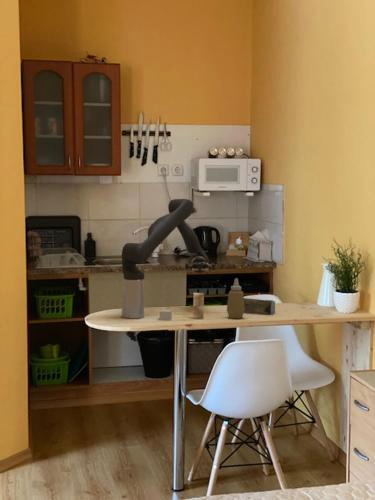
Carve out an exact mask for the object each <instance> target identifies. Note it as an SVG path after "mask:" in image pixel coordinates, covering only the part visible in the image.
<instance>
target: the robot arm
mask: <svg viewBox="0 0 375 500" xmlns="http://www.w3.org/2000/svg"><path fill="white" fill-rule="evenodd" d="M167 208H168V213H167V214H165V215H162V216H160V217H159V218H157V219H156V220H155V221H154V222H153V223H152V224H151V225H150V226H149V227H148V229H147V238H146V239H145V240H144V241H143V242H140V243H138V242H137V243H136V242H127V243H125V244H124V245H123V246H122V250H121V271H122V275H123V295H122V296H121V318H124V319H142V318H144V317H145V315H144V314H145V273H144V271H142V270H140V269H139V268H138V267H137V265H143V264H145V263H146V262H147V261H148V260H149V258H150V257H151V256H152V254H154V252H155V251H156V249H157V248H158V247H159V245H161V244H162V242H164V240H166V239H167V238H168V237H169V235H170V234H171V233H172V232H173V231H174V230H175V229H176V228H177V230H178V232H179V234H180V236H181V238H182V240H183V242H184V246H185V248H186V251H187V253H189V254H193V255H191V256H189V257H188V259H187V262H186V263H184V270H186V271H187V270H189V271H194V272H195V273H198V274H202V273H205V271H212V270H213V271H215V270H216V264H215V262H212V263H210V264H209V262H210V260H209V256H208V255H207V253H205V251H204V250H203V248H202V247H201V243H200V241H199V238H198V236H197V234H196V232H195V231H194V230H193V229H192V228H191V227H190V226H189V225H188V224H187V223H186V221H185V220H187V219H188V218H190V216H191V215H192V213H193V212H194V204H193V202H192V200H190V199H187V198H173V199H171V200H170V201H169V203H168V205H167Z"/></svg>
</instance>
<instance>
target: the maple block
mask: <svg viewBox="0 0 375 500" xmlns="http://www.w3.org/2000/svg"><path fill="white" fill-rule="evenodd" d="M192 300H193V305H192V310H193V311H192V316H193V320H204V315H205V314H204V312H205V309H204V307H205V304H204V302H205V294H204V292H193V299H192Z"/></svg>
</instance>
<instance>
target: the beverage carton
mask: <svg viewBox="0 0 375 500" xmlns="http://www.w3.org/2000/svg"><path fill="white" fill-rule="evenodd" d="M244 309H245V310H244V313H243V314H252V315H253V314H254V315H264V316H272V315H273V314H275V313H276V301H275V300H271V299H270V300H269V299H257V298H256V299H255V298H246V297H244Z"/></svg>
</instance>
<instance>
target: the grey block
mask: <svg viewBox="0 0 375 500" xmlns="http://www.w3.org/2000/svg"><path fill="white" fill-rule="evenodd" d="M172 316H173V310H172V309H160V310H159V321H172V318H173V317H172Z"/></svg>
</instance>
